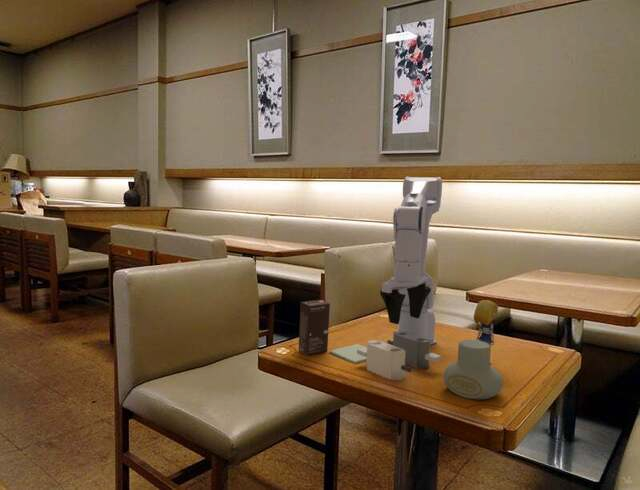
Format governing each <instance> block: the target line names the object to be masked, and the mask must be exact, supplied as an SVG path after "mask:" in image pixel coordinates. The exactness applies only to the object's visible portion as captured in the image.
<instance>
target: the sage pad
mask: <svg viewBox="0 0 640 490" xmlns="http://www.w3.org/2000/svg"><path fill="white" fill-rule="evenodd" d="M361 348H366V349H367V346H364V345H361V344H359V343H355V344H352V345H348V346H344V347H343V346H342V347H340V348H339V347H338V348H334V349H331V350H329V354H332V355H335V356H336V357H339V358H341V359H342V360H343V359H344V360H346V361H348V362H350V363H353V364H355V365H356V364H360V363H364V362H366V357H364V356H361V355H359V354H357V349H361Z"/></svg>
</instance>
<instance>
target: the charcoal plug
mask: <svg viewBox="0 0 640 490" xmlns="http://www.w3.org/2000/svg"><path fill="white" fill-rule="evenodd" d="M392 335H393V336H392V339H393V341H391V339H388V340H387V341H386V343H387V344H390V345H393V346H396V347H398V348H401V349H404V350H405V365H406V366H407V365H408V366H411V367H414V368H416V369H422V370H427V369H429V368H430V362H432V363H437V362H440V361H441V360H442V355H439V354H437V353H434V352H431V345H430V342H431V341H430V340H429V339H426V338H423V337H420V336H417V335H413V334H410V333H407V332H402V331H398V330H396V331H393V334H392Z"/></svg>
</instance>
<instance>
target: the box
mask: <svg viewBox="0 0 640 490" xmlns="http://www.w3.org/2000/svg"><path fill="white" fill-rule="evenodd" d="M330 308H331V304H330V302H327V301H325V300H322V299H316V300H308V301H307V300H306V301H301V302H300V307H299V309H300V310H299V330H298V333H299V334H298V351H299V352H301V353H302V354H304V355H306V356H309V355H313V354H319V353H324V352H328V343H329V327H330Z"/></svg>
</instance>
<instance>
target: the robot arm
mask: <svg viewBox="0 0 640 490" xmlns="http://www.w3.org/2000/svg"><path fill="white" fill-rule="evenodd" d="M402 183H403V184H402V197H403V199H402V202H401V204H400V205H399V206H398V207H397V208H394V211H393V216H392V226H393V240H394V260H393V276H392V277H390V278H389V280H387V281H385V282H382V283H381V289H380V291H379V293H380V294H379V295H380V296H381V298H382V300H383V302H384V305H385V308H386V311H387V316H388V322H389V323H391V324H395V325H397V331H402V332H407V333H410V334H413V335H417V336H420V337H423V338H426V339H429V340H430V341H431V342H430V346H431V345H434V344H437V340H435V331H436V317H435V314H434V311H433V310H432V309H433V307H434V302H435V301H434V300H435V281H434V279H433V277H432V276H430V275H429V274H428V273H427V272H425V271H426V263H427V262H426V261H427V260H426V259H427V252H428V251H427V250H428V241H429V240H428V239H429V230H430V222H431V221H432V220H431V219H432V217H433V215H434V214H436V213H438V212H440V208H441V204H442V203H441V202H442V200H441V199H442V194H443V179H442V178H441V177H440V176H437V177H424V176H423V177H418V176H417V177H415V176H414V177H413V176H411V177H410V176H405V178H404V179H403V182H402ZM390 340H391V341H393V338H391V339H390Z"/></svg>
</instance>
